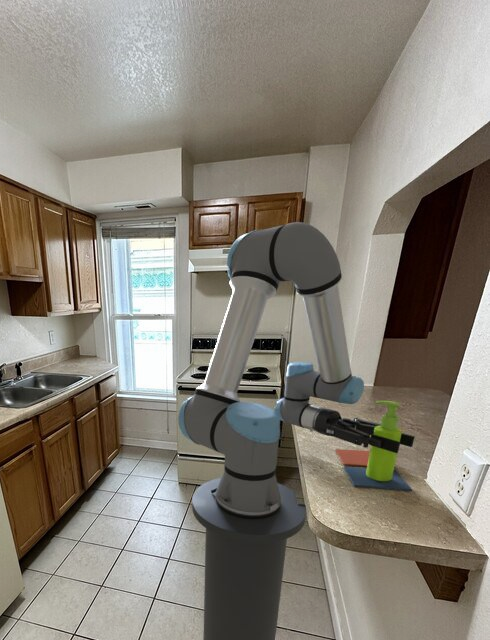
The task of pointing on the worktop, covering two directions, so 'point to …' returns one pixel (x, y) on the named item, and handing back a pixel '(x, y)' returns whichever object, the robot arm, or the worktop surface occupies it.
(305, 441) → the worktop surface
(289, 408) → the robot arm
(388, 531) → the worktop surface
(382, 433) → the soap dispenser
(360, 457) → the terracotta mat
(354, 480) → the slate mat
